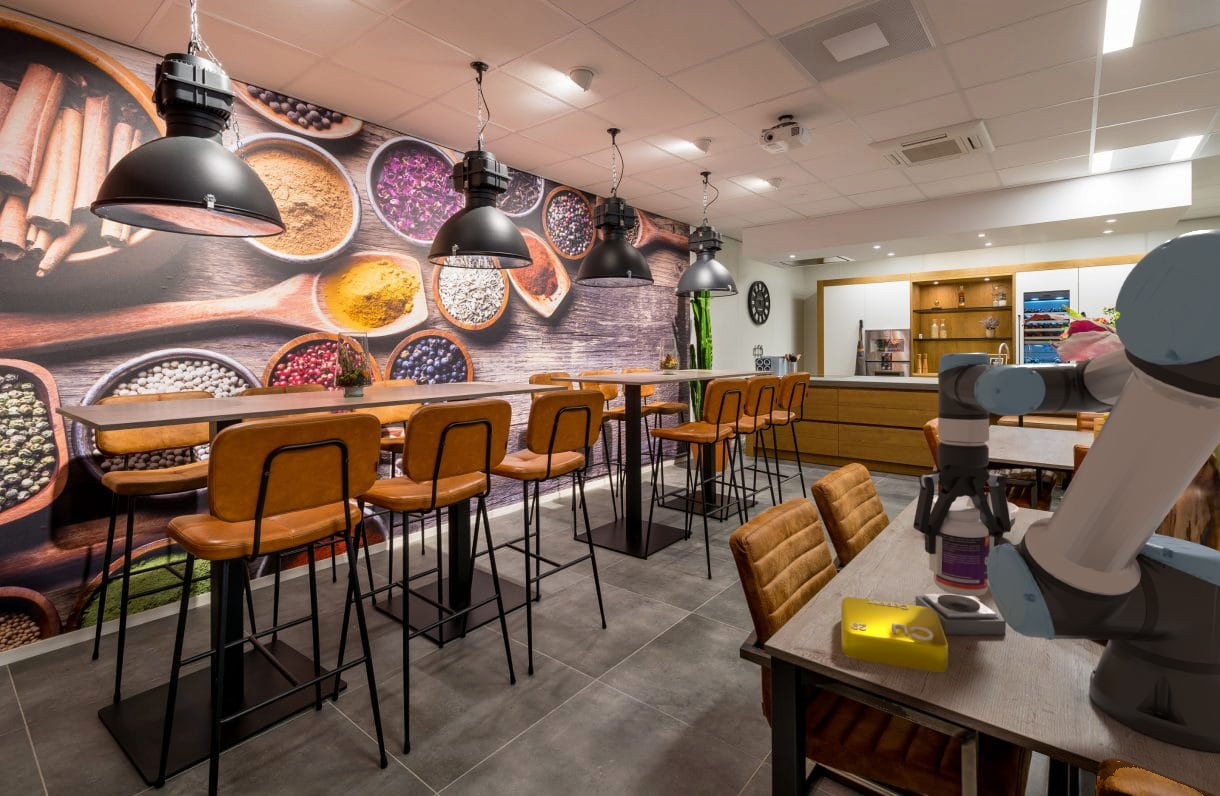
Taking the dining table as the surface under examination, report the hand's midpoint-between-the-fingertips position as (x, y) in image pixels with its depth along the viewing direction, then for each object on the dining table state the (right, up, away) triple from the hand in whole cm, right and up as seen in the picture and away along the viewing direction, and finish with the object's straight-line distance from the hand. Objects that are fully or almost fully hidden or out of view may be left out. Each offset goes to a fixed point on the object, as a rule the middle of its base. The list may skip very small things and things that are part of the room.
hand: (960, 571), depth 100 cm
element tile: (-15, -11, -5) cm, 19 cm away
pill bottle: (0, -3, 0) cm, 4 cm away
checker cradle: (0, -9, +1) cm, 9 cm away
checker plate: (0, -8, +1) cm, 8 cm away
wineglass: (+19, -7, +22) cm, 30 cm away
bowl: (+32, -5, +47) cm, 57 cm away
